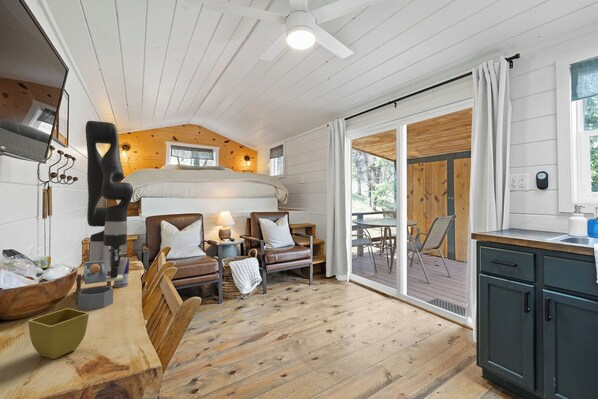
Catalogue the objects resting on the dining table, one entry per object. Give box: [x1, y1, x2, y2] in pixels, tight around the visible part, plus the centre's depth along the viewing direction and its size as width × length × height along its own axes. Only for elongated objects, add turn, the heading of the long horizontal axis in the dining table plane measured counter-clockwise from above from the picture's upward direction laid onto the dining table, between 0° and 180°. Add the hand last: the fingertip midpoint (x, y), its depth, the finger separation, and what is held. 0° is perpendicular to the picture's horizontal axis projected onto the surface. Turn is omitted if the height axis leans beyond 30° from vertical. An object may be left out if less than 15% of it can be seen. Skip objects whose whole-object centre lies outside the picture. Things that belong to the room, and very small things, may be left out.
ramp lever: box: [81, 261, 123, 285], centre depth 111 cm, size 14×13×5 cm
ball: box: [89, 264, 100, 273], centre depth 110 cm, size 4×4×4 cm
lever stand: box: [75, 271, 112, 305], centre depth 109 cm, size 17×11×9 cm, turn 39°
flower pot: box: [27, 307, 90, 360], centre depth 69 cm, size 9×9×9 cm
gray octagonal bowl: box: [77, 285, 114, 311], centre depth 100 cm, size 10×10×5 cm
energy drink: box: [113, 256, 130, 288], centre depth 122 cm, size 5×5×12 cm
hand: (113, 277), depth 109 cm, fingers closed
